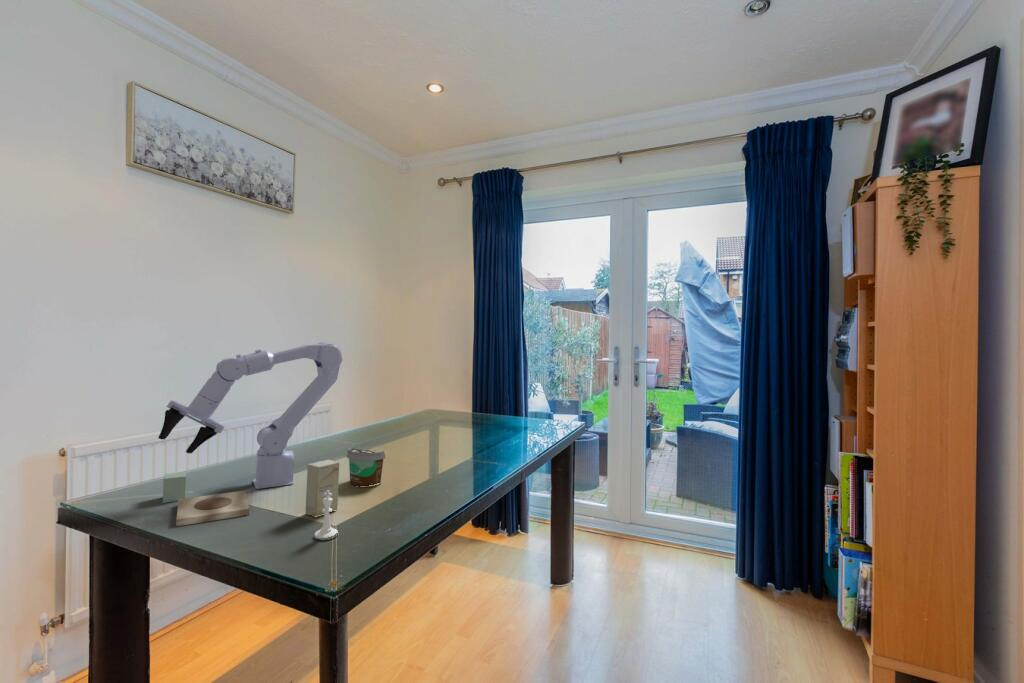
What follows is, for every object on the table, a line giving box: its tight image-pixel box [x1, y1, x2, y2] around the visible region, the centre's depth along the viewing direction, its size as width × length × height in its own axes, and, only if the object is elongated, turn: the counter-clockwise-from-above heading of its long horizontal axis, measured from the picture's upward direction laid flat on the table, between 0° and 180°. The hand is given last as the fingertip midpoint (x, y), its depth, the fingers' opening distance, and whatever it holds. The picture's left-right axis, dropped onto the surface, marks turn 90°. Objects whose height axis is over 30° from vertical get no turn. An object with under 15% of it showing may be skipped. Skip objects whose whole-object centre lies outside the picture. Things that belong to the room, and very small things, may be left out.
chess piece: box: [313, 490, 339, 538], centre depth 100 cm, size 5×5×10 cm
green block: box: [162, 471, 187, 504], centre depth 117 cm, size 4×4×6 cm
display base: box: [175, 490, 250, 527], centre depth 111 cm, size 14×14×2 cm
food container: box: [346, 445, 386, 488], centre depth 134 cm, size 12×6×10 cm, turn 68°
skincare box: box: [305, 459, 340, 517], centre depth 112 cm, size 6×4×12 cm
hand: (175, 445), depth 117 cm, fingers open, 7 cm apart
